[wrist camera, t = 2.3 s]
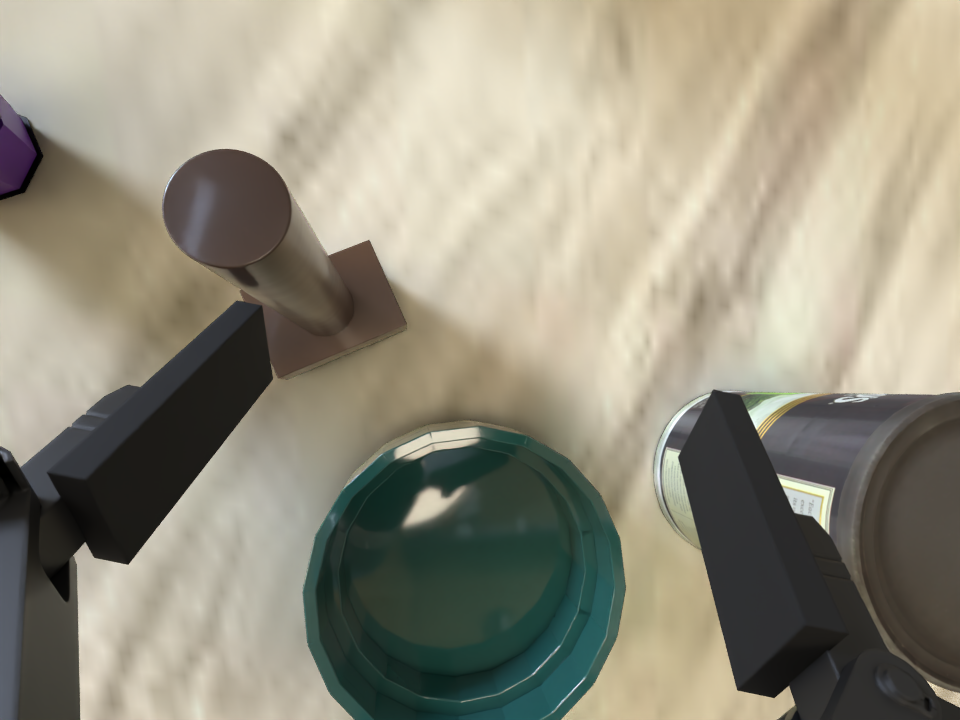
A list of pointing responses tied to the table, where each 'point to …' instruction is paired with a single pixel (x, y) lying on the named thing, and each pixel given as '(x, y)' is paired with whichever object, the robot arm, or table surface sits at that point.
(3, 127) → the potion bottle
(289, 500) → the table surface
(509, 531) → the bowl
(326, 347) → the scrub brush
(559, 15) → the table surface
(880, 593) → the coffee can
